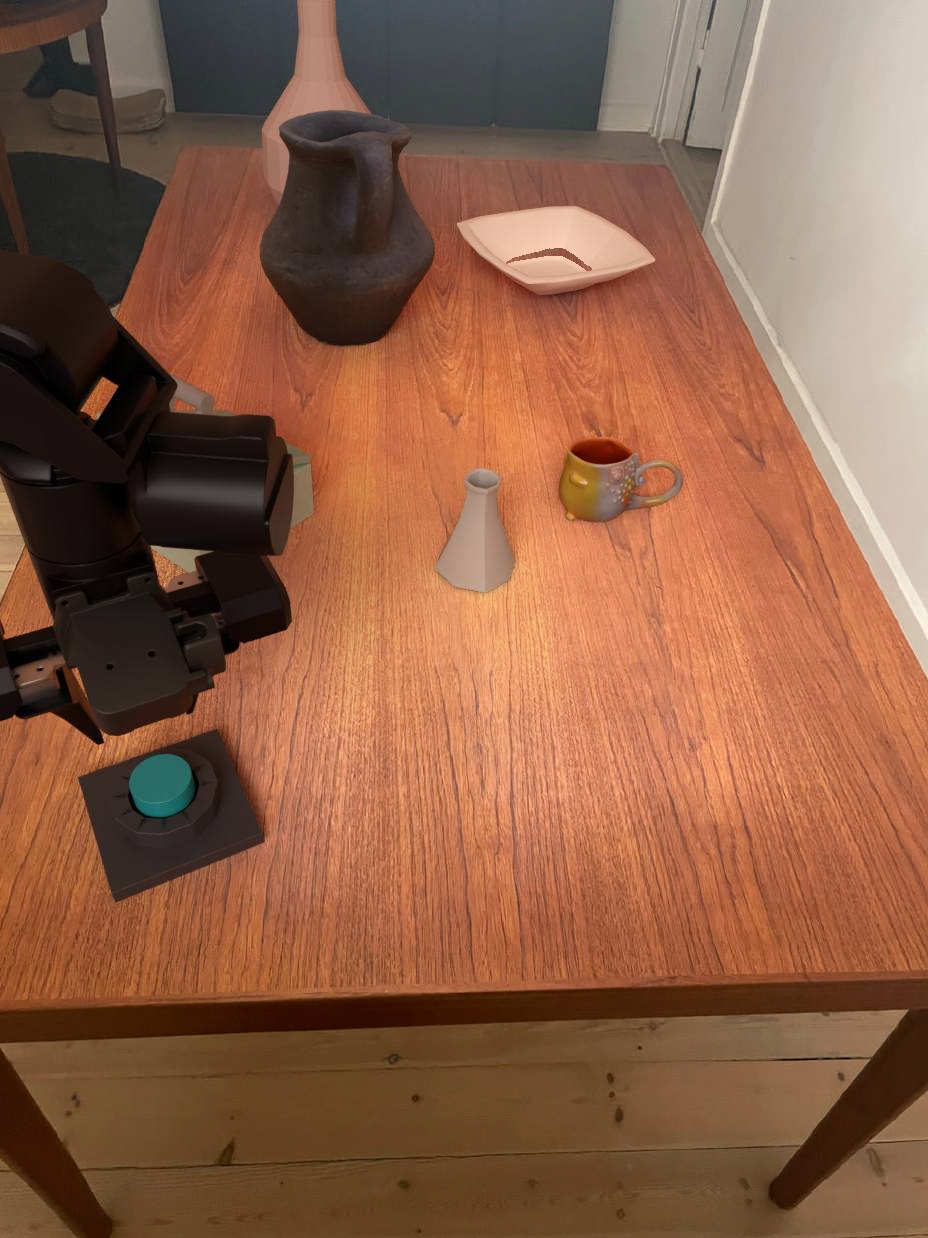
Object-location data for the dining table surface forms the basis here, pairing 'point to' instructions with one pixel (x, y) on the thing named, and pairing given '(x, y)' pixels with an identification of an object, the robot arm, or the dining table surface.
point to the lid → (216, 411)
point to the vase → (308, 86)
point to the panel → (169, 819)
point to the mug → (607, 480)
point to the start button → (162, 785)
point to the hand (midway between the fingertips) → (144, 724)
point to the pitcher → (345, 227)
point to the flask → (478, 538)
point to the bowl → (552, 229)
